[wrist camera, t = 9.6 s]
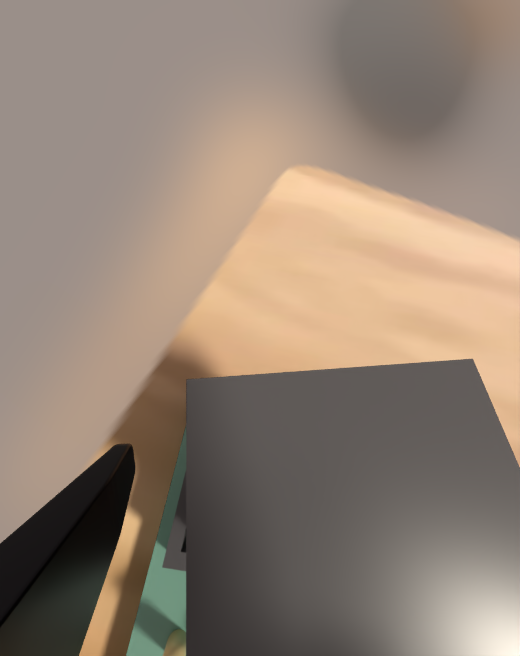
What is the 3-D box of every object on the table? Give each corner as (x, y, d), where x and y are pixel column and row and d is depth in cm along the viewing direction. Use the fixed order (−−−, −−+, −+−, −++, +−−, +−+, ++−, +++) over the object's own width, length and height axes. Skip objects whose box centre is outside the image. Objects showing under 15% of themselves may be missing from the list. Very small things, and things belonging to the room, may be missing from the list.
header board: (322, 739, 12) (353, 825, 9) (116, 709, 12) (81, 790, 9) (336, 412, 18) (357, 403, 15) (199, 386, 18) (194, 372, 15)
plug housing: (308, 524, 15) (663, 801, 3) (218, 538, 14) (186, 983, 2) (294, 430, 16) (472, 358, 5) (214, 438, 16) (186, 379, 4)
